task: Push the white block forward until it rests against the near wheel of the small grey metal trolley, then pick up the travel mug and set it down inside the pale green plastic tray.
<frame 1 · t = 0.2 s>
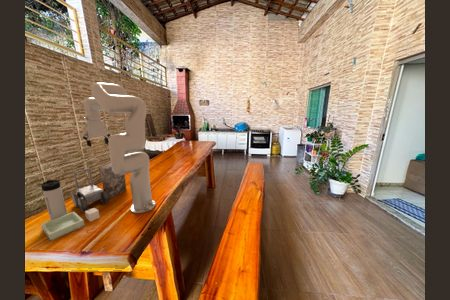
hand: (98, 145, 112), 31 cm above the table, fingers open, 9 cm apart
trolley: (92, 204, 98), on the table
travel mug: (59, 219, 85), on the table
tray: (64, 227, 78), on the table
white block: (93, 217, 86), on the table
stone block: (116, 193, 111), on the table
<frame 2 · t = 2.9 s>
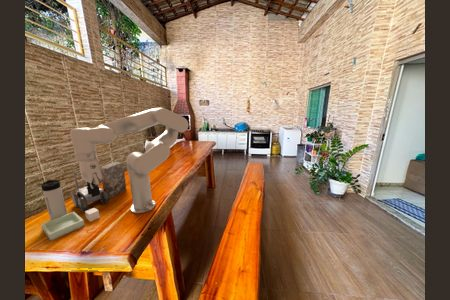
hand: (94, 194, 78), 15 cm above the table, fingers open, 3 cm apart
nothing on the table moved.
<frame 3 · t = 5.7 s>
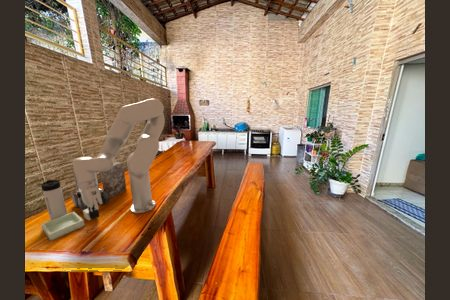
hand: (94, 217, 84), 1 cm above the table, fingers closed
white block: (91, 216, 86), on the table, touching gripper
everything else where it was.
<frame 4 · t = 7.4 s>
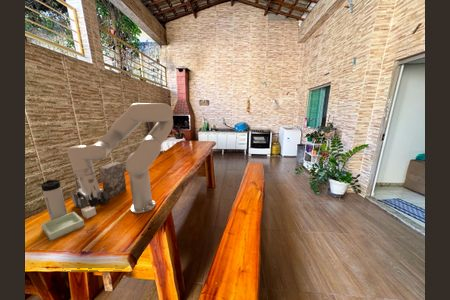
hand: (94, 205, 85), 7 cm above the table, fingers closed
white block: (89, 215, 88), on the table
everything else where it was.
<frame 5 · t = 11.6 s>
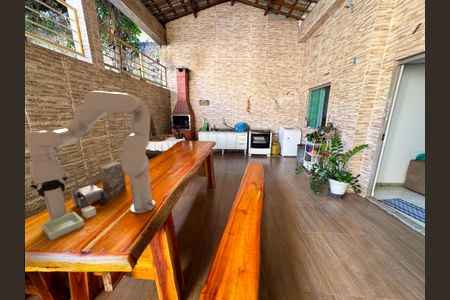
hand: (52, 192, 82), 14 cm above the table, fingers closed on travel mug, 6 cm apart
travel mug: (59, 219, 85), on the table, touching gripper
everything else where it was.
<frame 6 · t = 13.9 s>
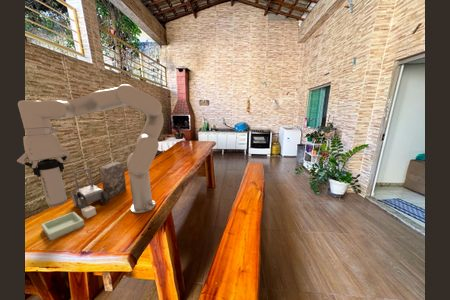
hand: (50, 173, 72), 27 cm above the table, fingers closed on travel mug, 6 cm apart
travel mug: (58, 203, 76), point 12 cm above the table, touching gripper
everything else where it was.
when the fingers open (16 cm above the table, at t = 16.1 s): travel mug drops 2 cm, resting on tray.
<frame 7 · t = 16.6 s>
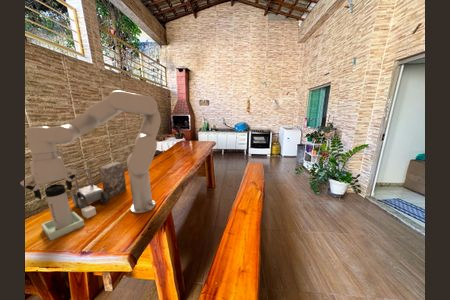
hand: (55, 193, 75), 17 cm above the table, fingers open, 9 cm apart
travel mug: (64, 226, 79), resting on tray
everything else where it was.
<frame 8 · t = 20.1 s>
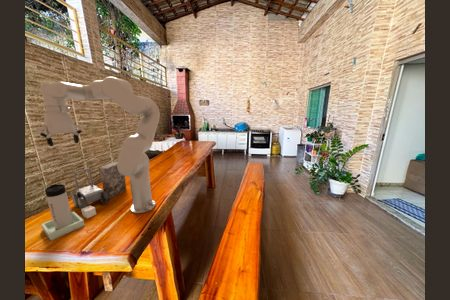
hand: (64, 144, 86), 36 cm above the table, fingers open, 9 cm apart
nothing on the table moved.
at the end: white block 0.1 cm from the target spot, on the table; travel mug inside the target area on the tray (0.4 cm from its centre), point 0.4 cm above the tray's base; travel mug tilted 0° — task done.
